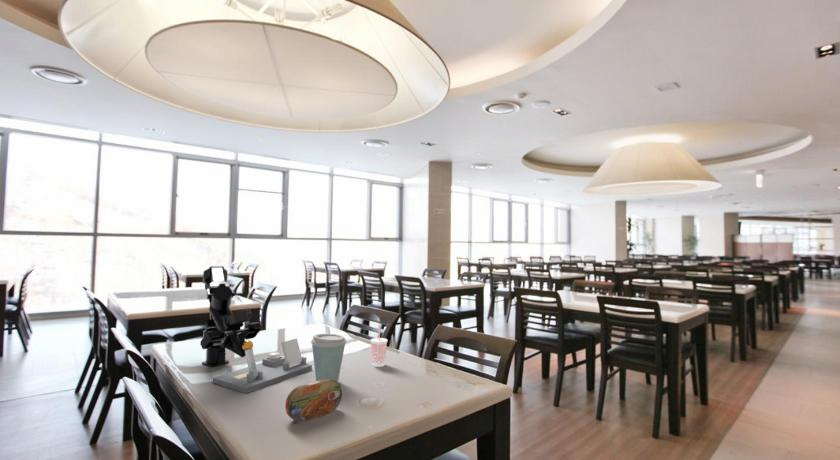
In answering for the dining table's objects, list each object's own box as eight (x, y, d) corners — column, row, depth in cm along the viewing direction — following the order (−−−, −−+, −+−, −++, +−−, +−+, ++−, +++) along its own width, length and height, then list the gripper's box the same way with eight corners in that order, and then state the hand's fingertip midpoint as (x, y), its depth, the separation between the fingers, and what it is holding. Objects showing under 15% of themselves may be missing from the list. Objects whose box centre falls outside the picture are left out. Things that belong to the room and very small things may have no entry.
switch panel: (212, 382, 125) (212, 371, 125) (280, 361, 148) (280, 351, 148) (245, 393, 117) (246, 381, 117) (312, 369, 139) (312, 358, 140)
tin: (288, 426, 97) (289, 391, 97) (283, 422, 99) (284, 387, 99) (342, 409, 107) (343, 377, 107) (335, 405, 110) (336, 374, 110)
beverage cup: (388, 362, 149) (389, 324, 149) (385, 367, 142) (386, 328, 143) (372, 361, 149) (372, 323, 150) (368, 367, 143) (369, 327, 143)
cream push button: (266, 360, 140) (266, 354, 140) (274, 357, 143) (275, 351, 143) (273, 361, 138) (273, 355, 138) (281, 359, 141) (282, 353, 141)
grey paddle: (286, 366, 136) (281, 342, 137) (300, 361, 141) (294, 339, 142) (288, 365, 135) (283, 341, 137) (302, 361, 140) (296, 338, 142)
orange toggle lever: (246, 379, 123) (239, 342, 126) (255, 376, 126) (247, 340, 129) (253, 377, 122) (245, 340, 124) (262, 374, 125) (254, 338, 127)
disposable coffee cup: (333, 375, 134) (334, 329, 134) (351, 384, 126) (353, 335, 126) (303, 382, 126) (305, 334, 127) (321, 392, 119) (323, 341, 119)
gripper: (207, 305, 122) (228, 347, 116) (259, 298, 138) (280, 335, 132) (191, 328, 126) (211, 370, 120) (244, 318, 142) (264, 355, 136)
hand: (244, 356), depth 127 cm, fingers closed
